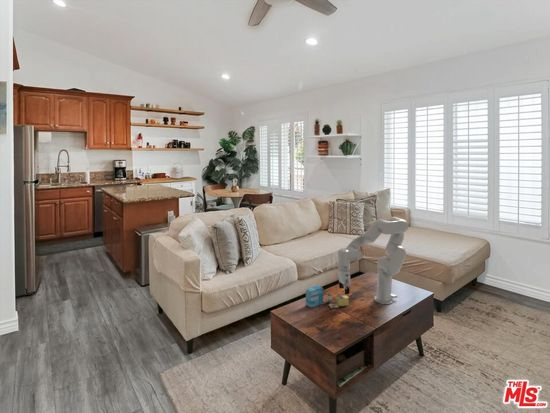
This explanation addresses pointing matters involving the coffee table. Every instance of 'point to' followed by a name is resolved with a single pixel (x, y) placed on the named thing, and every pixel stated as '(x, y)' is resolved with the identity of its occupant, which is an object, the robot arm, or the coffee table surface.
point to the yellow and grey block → (342, 300)
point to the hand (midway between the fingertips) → (344, 291)
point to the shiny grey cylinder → (329, 298)
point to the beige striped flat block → (333, 305)
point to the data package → (314, 296)
